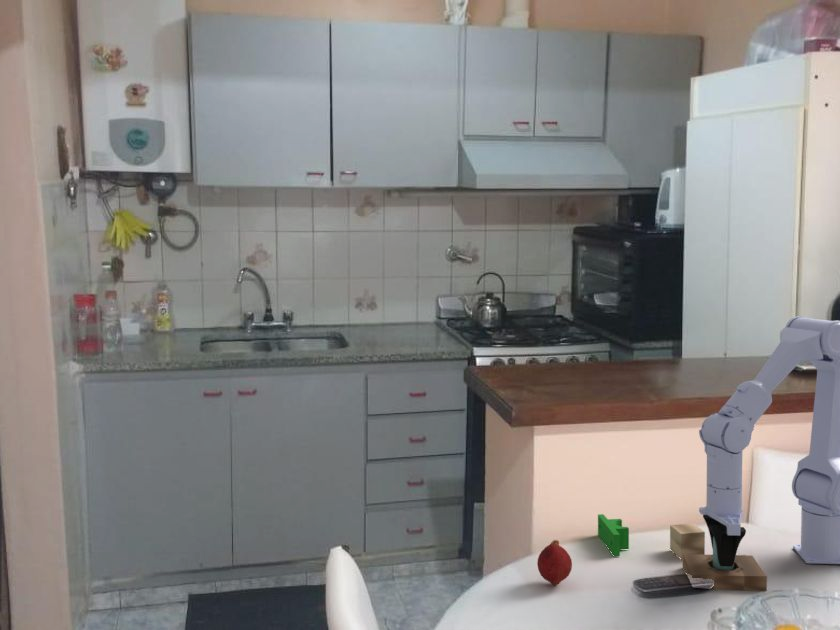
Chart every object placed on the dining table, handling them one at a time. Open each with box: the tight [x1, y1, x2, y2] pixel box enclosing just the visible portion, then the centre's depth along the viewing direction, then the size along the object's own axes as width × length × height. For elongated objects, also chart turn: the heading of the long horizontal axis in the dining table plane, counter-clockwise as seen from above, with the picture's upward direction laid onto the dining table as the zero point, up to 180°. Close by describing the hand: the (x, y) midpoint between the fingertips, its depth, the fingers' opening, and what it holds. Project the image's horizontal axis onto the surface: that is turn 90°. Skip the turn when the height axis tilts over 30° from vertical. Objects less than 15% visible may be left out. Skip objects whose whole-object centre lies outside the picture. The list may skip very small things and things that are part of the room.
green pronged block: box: [597, 513, 630, 557], centre depth 164 cm, size 11×4×5 cm, turn 3°
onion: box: [536, 539, 573, 586], centre depth 147 cm, size 6×6×8 cm
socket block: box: [682, 554, 768, 592], centre depth 148 cm, size 12×9×2 cm
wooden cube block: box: [669, 522, 706, 559], centre depth 159 cm, size 5×5×5 cm
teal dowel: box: [712, 537, 734, 571], centre depth 148 cm, size 3×3×6 cm
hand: (723, 561), depth 148 cm, fingers closed on teal dowel, 3 cm apart
